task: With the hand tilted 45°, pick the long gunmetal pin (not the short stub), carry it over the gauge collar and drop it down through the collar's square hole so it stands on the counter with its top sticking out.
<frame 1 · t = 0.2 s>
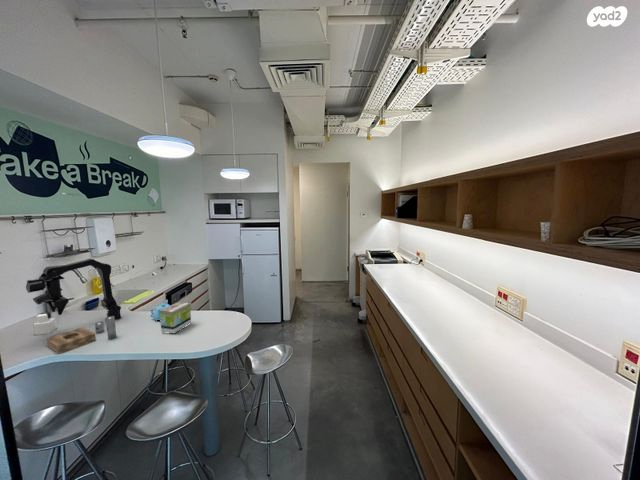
hand: (56, 313, 153), 15 cm above the worktop, tool pointing down, fingers open, 9 cm apart
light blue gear: (165, 318, 182), on the worktop
gauge collar: (72, 343, 148), on the worktop
short pin: (100, 332, 161), on the worktop
long pin: (112, 338, 154), on the worktop
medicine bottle: (46, 332, 161), on the worktop
tea box: (176, 328, 166), on the worktop
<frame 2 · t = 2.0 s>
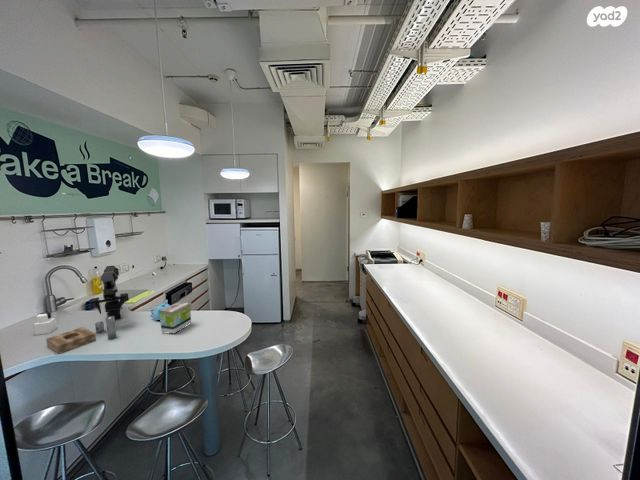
hand: (110, 311, 158), 13 cm above the worktop, tool tilted 45°, fingers open, 9 cm apart
nothing on the worktop moved.
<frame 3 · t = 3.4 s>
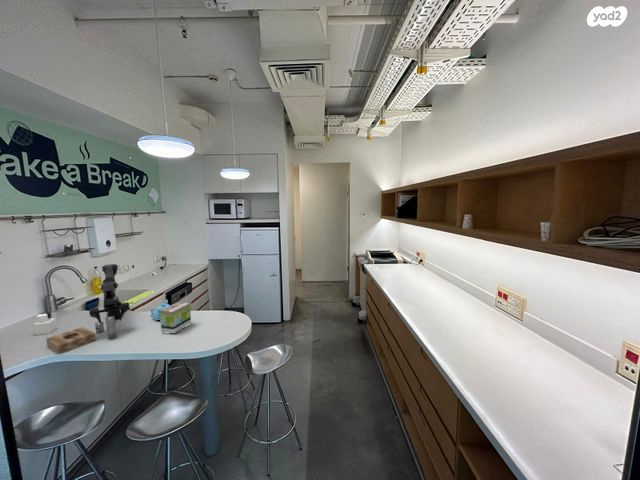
hand: (110, 322, 154), 9 cm above the worktop, tool tilted 45°, fingers open, 9 cm apart
nothing on the worktop moved.
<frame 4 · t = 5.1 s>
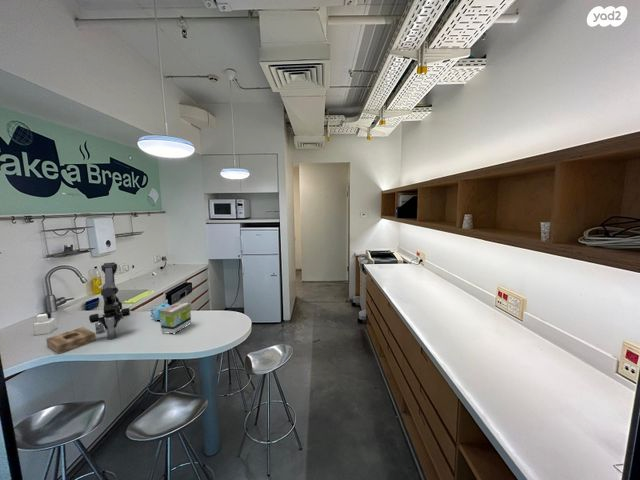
hand: (111, 328, 152), 7 cm above the worktop, tool tilted 45°, fingers closed on long pin, 4 cm apart
long pin: (112, 338, 154), on the worktop, touching gripper
everything else where it was.
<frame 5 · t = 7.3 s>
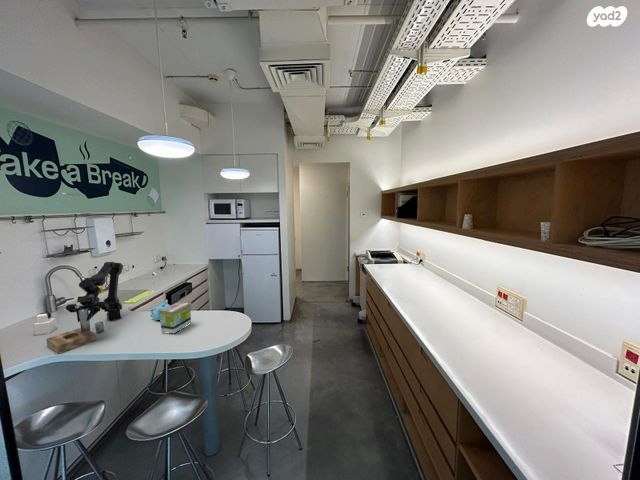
hand: (83, 321, 146), 13 cm above the worktop, tool tilted 45°, fingers closed on long pin, 4 cm apart
long pin: (85, 331, 148), point 7 cm above the worktop, touching gripper
everything else where it was.
when the fingers open (8 cm above the worktop, at t = 9.7 s): long pin drops 1 cm, resting in gauge collar.
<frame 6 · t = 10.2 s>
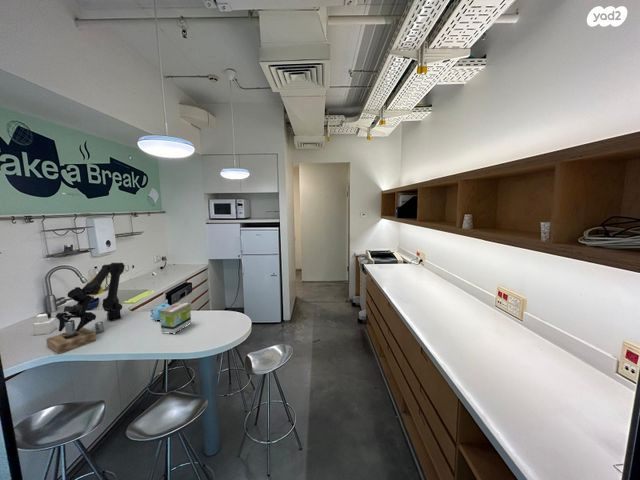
hand: (68, 331, 145), 8 cm above the worktop, tool tilted 45°, fingers open, 9 cm apart
long pin: (72, 343, 148), resting in gauge collar
everything else where it was.
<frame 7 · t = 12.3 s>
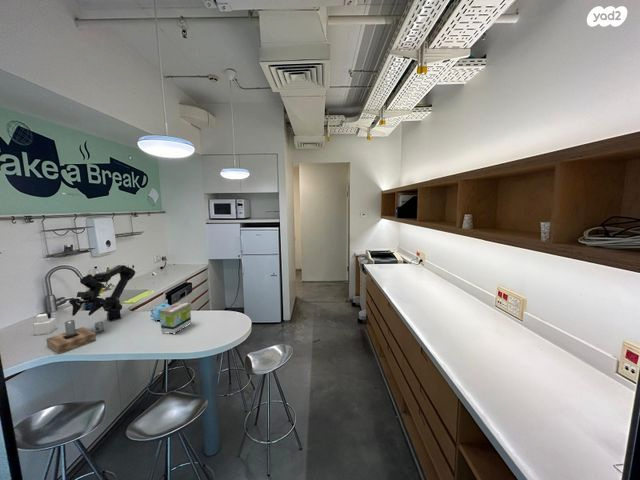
hand: (81, 315, 154), 13 cm above the worktop, tool tilted 45°, fingers open, 9 cm apart
nothing on the worktop moved.
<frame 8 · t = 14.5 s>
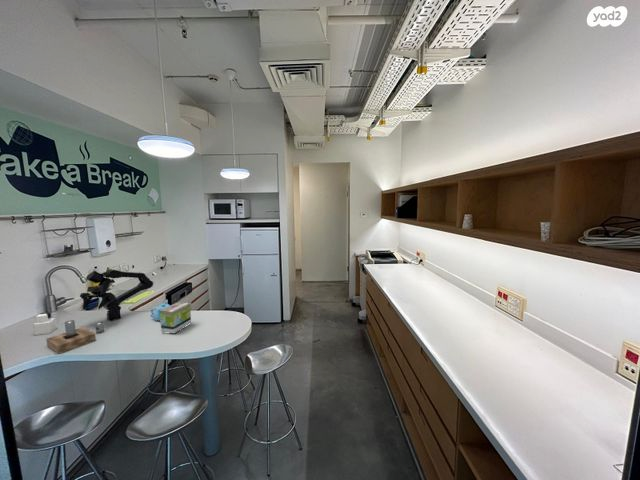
hand: (91, 308, 163), 14 cm above the worktop, tool tilted 45°, fingers open, 9 cm apart
nothing on the worktop moved.
at the end: long pin 0.1 cm off-centre on the gauge collar, point 0.0 cm above the gauge collar's base; long pin tilted 0°; short pin moved 0.0 cm from its start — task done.
